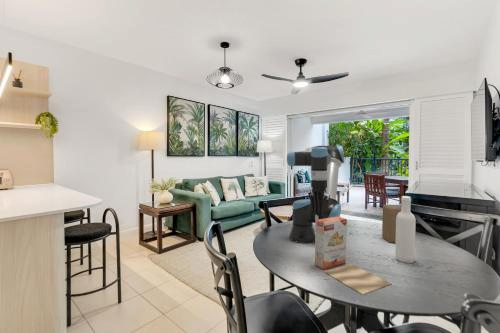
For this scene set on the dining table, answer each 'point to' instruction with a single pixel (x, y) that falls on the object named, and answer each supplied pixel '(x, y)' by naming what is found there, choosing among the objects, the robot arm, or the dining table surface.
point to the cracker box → (330, 242)
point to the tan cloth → (357, 278)
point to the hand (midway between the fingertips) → (318, 228)
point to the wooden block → (390, 222)
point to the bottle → (405, 233)
